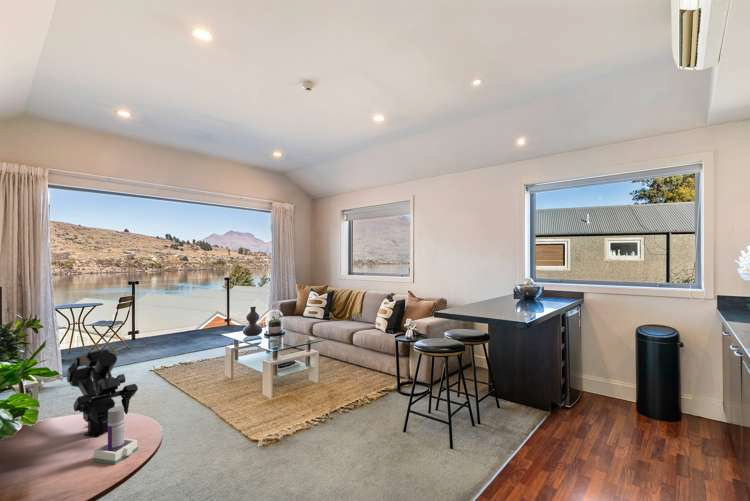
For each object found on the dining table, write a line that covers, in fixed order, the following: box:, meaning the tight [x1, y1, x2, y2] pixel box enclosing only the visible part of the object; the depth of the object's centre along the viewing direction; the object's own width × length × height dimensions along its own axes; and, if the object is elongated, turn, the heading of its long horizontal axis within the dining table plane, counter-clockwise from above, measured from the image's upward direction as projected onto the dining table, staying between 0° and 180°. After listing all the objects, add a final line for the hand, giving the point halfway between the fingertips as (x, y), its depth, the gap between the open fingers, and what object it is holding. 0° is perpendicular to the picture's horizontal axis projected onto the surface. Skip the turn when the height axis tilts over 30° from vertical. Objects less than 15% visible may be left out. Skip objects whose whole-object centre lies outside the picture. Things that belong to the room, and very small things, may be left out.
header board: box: [92, 437, 139, 465], centre depth 124 cm, size 10×9×4 cm
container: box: [107, 405, 125, 452], centre depth 124 cm, size 5×5×15 cm
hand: (112, 417), depth 130 cm, fingers open, 9 cm apart
